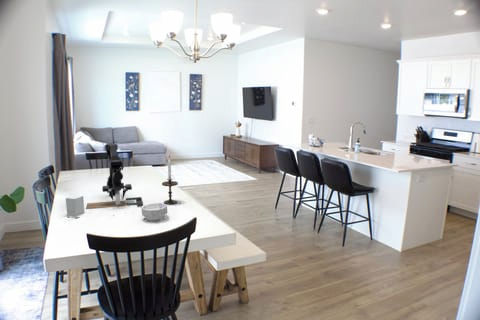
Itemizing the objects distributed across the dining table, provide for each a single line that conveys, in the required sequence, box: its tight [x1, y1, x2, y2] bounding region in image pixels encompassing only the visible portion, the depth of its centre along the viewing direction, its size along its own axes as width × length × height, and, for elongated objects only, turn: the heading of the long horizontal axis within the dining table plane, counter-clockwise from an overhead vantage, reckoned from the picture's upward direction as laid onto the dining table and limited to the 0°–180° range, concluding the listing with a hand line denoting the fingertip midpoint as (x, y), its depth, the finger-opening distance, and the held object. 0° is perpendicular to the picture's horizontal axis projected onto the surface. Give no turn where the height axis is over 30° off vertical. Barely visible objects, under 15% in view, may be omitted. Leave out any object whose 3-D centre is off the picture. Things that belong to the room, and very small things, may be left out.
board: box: [85, 199, 127, 210], centre depth 245 cm, size 14×25×2 cm, turn 109°
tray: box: [125, 196, 144, 208], centre depth 251 cm, size 14×11×3 cm
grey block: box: [114, 191, 121, 207], centre depth 247 cm, size 10×3×9 cm, turn 19°
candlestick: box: [161, 154, 179, 206], centre depth 253 cm, size 11×11×35 cm
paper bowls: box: [141, 202, 168, 222], centre depth 221 cm, size 15×15×8 cm
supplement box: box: [65, 194, 86, 220], centre depth 224 cm, size 7×7×13 cm
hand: (117, 200), depth 247 cm, fingers open, 6 cm apart
